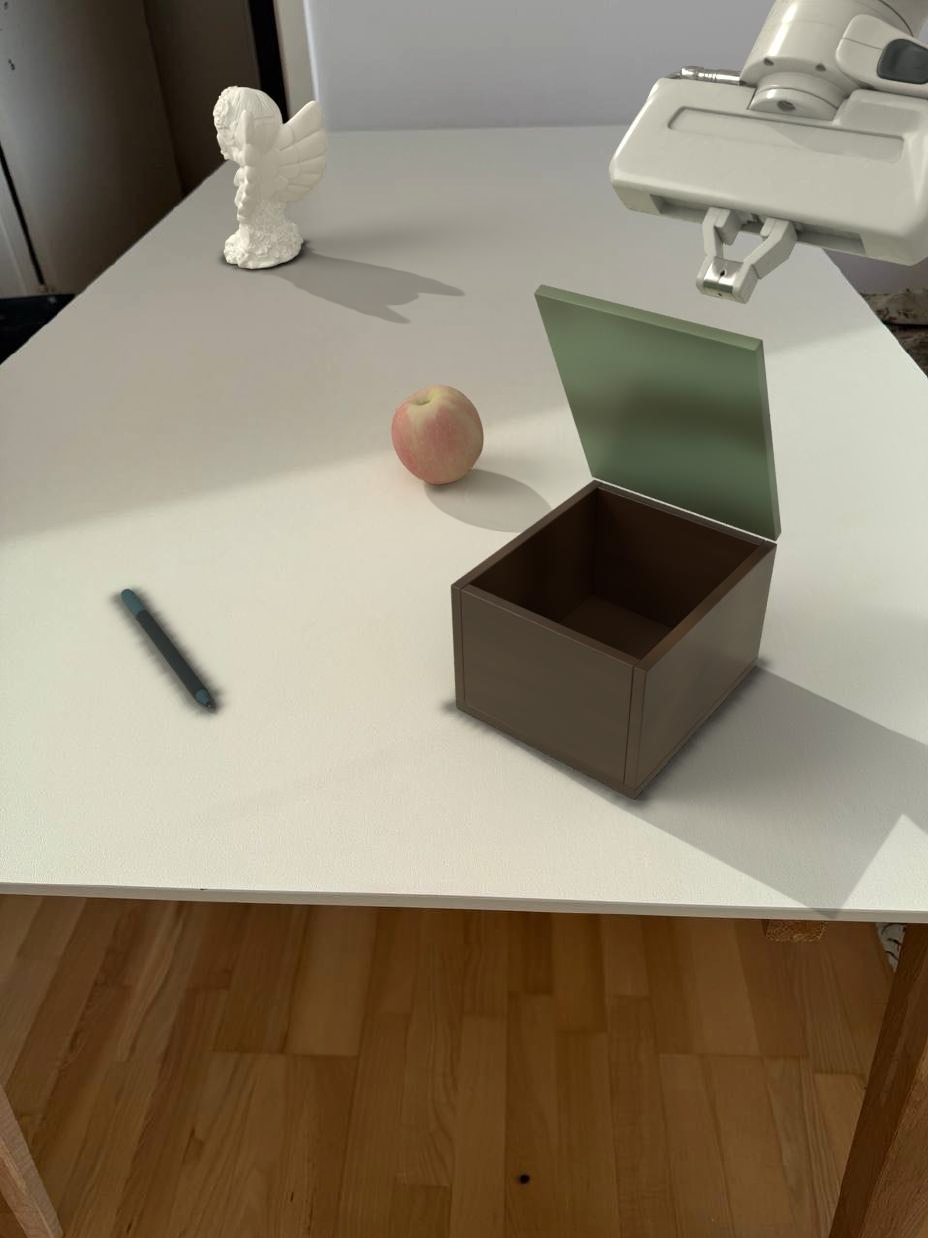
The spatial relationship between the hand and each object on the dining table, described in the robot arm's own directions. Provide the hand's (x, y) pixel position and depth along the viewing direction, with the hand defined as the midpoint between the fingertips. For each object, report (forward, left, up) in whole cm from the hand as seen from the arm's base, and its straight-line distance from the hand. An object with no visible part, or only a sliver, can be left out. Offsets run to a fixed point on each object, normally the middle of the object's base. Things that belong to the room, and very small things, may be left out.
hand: (719, 294), depth 64 cm
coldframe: (+4, +9, -24) cm, 26 cm away
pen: (+35, +13, -24) cm, 44 cm away
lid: (+2, +5, -6) cm, 8 cm away
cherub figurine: (+61, -66, -24) cm, 93 cm away
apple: (+23, -15, -24) cm, 36 cm away
